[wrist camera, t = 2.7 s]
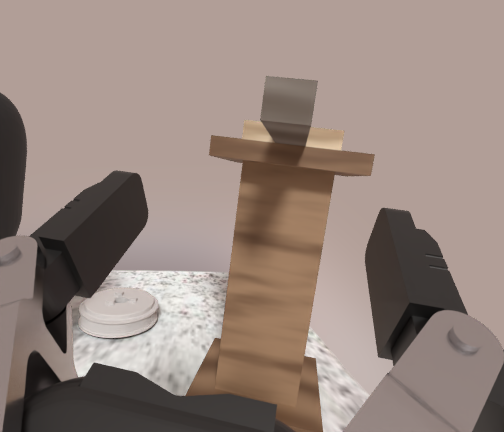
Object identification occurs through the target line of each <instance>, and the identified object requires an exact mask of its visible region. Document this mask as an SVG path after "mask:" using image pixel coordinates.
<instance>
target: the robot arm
mask: <svg viewBox="0 0 504 432" xmlns="http://www.w3.org/2000/svg"><path fill="white" fill-rule="evenodd" d="M26 156H27V141H26V133H25V128H24V124H23V121H22V118H21V116H20V114H19V112H18V110H17V108H16V107H15V106H14V104H13V103H12V102H11V101H10V100H9V99H8V98H7V97H6V96H4V95H3V94H1V93H0V432H295V431H294V430H293V429H291V428H290V427H289V426H287V425H286V424H285V423H283V422H281V421H279V420H278V419H276V410H277V404H272V403H268V402H264V401H259V400H255V399H251V398H246V397H242V396H238V395H233V394H213V395H196V396H176V395H173V394H171V393H170V392H168V391H167V390H165V389H163V388H162V387H160V386H158V385H157V384H155V383H153V382H152V381H150V380H148V379H147V378H145V377H143V376H142V375H140V374H138V373H137V372H133V371H129V370H124V369H120V368H115V367H111V366H107V365H102V364H98V363H93V365H92V366H91V368H90V370H89V371H88V373H87V375H86V376H84V377H78V375H77V372H76V370H75V366H74V360H73V331H72V307H71V305H70V303H69V302H70V300H71V299H72V298H73V297H74V295H76V296H81V297H86V298H91V297H92V296H93V295H94V293H95V292H96V291H97V289H98V288H99V287H100V285H101V284H102V283H103V281H104V280H105V279H106V277H107V276H108V275H109V273H110V272H111V271H112V269H113V268H114V267H115V265H116V264H117V263H118V261H119V260H120V259H121V257H122V256H123V255H124V253H125V252H126V251H127V249H128V248H129V247H130V245H131V244H132V243H133V241H134V240H135V239H136V237H137V236H138V235H139V233H140V232H141V231H142V230H143V228H144V227H145V225H146V222H147V219H148V208H147V203H146V198H145V194H144V189H143V184H142V181H141V177H140V175H139V174H137V173H131V172H123V171H113V172H112V173H111V174H109V175H108V176H107V177H106V178H105V179H104V180H103V181H101V182H100V183H97V184H95V185H93V186H91V187H89V188H87V189H85V190H83V191H82V192H81V193H80V194H79V195H77V196H76V197H75V198H74V200H73V201H71V202H69V203H68V204H67V205H66V206H65V208H64V209H61V210H60V211H59V212H58V213H56V214H55V215H54V216H53V217H51V218H50V219H49V220H48V221H47V222H46V223H44V224H43V225H42V226H41V227H40V228H38V229H37V230H36V231H35V232H34V233H33V234H31V235H30V236H16V234H17V231H18V228H19V225H20V222H21V216H22V204H23V191H24V180H25V169H26ZM365 264H366V272H367V280H368V287H369V294H370V301H371V308H372V316H373V323H374V330H375V338H376V345H377V352H378V357H380V358H385V359H390V360H393V366H394V367H393V368H392V370H391V371H390V372H389V373H387V375H386V376H385V377H384V378H383V380H382V381H381V382H380V383H379V385H378V386H377V387H376V389H375V390H374V392H373V393H372V394H371V395H370V397H369V398H368V399H367V401H366V402H365V403H364V404H363V406H362V407H361V408H360V410H359V411H358V412H357V414H356V415H355V416H354V418H353V419H352V420H351V422H350V423H349V424H348V426H347V427H346V428H345V430H344V431H343V432H504V350H503V348H502V346H501V344H500V342H499V340H498V339H497V338H496V336H495V335H494V334H493V333H492V332H491V331H490V330H489V329H488V328H487V327H486V326H485V325H484V324H482V323H481V322H479V321H478V320H476V319H475V318H472V317H471V316H469V315H468V314H467V311H466V309H465V307H464V304H463V302H462V300H461V297H460V295H459V293H458V290H457V288H456V286H455V283H454V281H453V279H452V276H451V274H450V272H449V271H448V270H447V269H448V267H447V265H446V262H445V260H444V259H443V255H442V253H441V251H440V248H439V246H438V243H437V242H436V241H435V240H434V239H433V238H432V237H431V236H430V235H429V234H428V233H427V232H426V231H425V230H421V229H416V227H415V225H414V222H413V220H412V217H411V214H410V212H409V211H404V210H396V209H388V208H382V209H381V210H380V212H379V214H378V217H377V220H376V222H375V225H374V228H373V231H372V233H371V236H370V239H369V241H368V244H367V248H366V254H365Z"/></svg>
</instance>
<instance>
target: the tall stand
mask: <svg viewBox="0 0 504 432" xmlns="http://www.w3.org/2000/svg"><path fill="white" fill-rule="evenodd" d="M209 155H210V156H214V157H218V158H222V159H226V160H230V161H234V162H239V163H243V166H242V173H241V181H240V189H239V198H238V206H237V214H236V222H235V230H234V238H233V246H232V254H231V262H230V271H229V278H228V287H227V295H226V303H225V311H224V319H223V327H222V335H221V339H219V338H215V339H214V341H213V343H212V345H211V347H210V349H209V351H208V353H207V355H206V357H205V359H204V360H203V362H202V364H201V366H200V368H199V370H198V372H197V374H196V376H195V378H194V380H193V382H192V384H191V386H190V388H189V390H188V392H187V394H186V395H185V396H196V395H213V394H233V395H238V396H242V397H246V398H251V399H255V400H259V401H264V402H268V403H272V404H277V410H276V419H278V420H279V421H281V422H283V423H285V424H286V425H287V426H289V427H290V428H291V429H293V430H294V431H295V432H323V427H322V417H321V407H320V397H319V387H318V377H317V367H316V358H311V357H306V356H304V354H305V348H306V342H307V336H308V330H309V324H310V318H311V312H312V306H313V300H314V294H315V289H316V283H317V276H318V271H319V265H320V259H321V252H322V247H323V241H324V235H325V229H326V223H327V216H328V211H329V205H330V199H331V193H332V187H333V180H334V175H341V176H370V175H371V172H372V166H373V161H374V154H366V153H358V152H349V151H341V150H332V149H324V148H315V147H307V146H298V145H290V144H281V143H273V142H264V141H256V140H247V139H238V138H230V137H221V136H213V135H212V136H211V143H210V152H209Z"/></svg>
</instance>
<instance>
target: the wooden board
mask: <svg viewBox="0 0 504 432" xmlns="http://www.w3.org/2000/svg"><path fill="white" fill-rule="evenodd" d="M317 82H318V81H315V80H304V79H293V78H282V77H281V78H280V77H269V76H266V81H265V88H264V95H263V104H262V112H261V119H260V120H261V122H257V121H249V120H245V121H244V128H243V137H242V139H247V140H256V141H264V142H273V143H281V144H290V145H298V146H307V147H315V148H324V149H332V150H341V148H342V142H343V136H344V131H341V130H331V129H321V128H313V127H311V122H312V115H313V109H314V102H315V96H316V89H317Z"/></svg>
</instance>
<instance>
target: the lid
mask: <svg viewBox="0 0 504 432" xmlns="http://www.w3.org/2000/svg"><path fill="white" fill-rule="evenodd" d="M157 308H158V301H157V299H156V298H155V297H154V296H152V295H151V294H150V293H148V292H146V291H143V290H140V289H135V288H112V289H106V290H102V291H99V292H96V293H94V295H93V296H92V297H91V298H86V299H85V300H84V301H82V302H81V304H80V306H79V313H80V317H79V320H78V325H79V327H80V329H81V330H82V331H83V332H85V333H87V334H89V335H92V336H96V337H102V338H121V337H127V336H132V335H135V334H139V333H141V332H143V331H146V330H147V329H149V328H150V327H152V326H153V325H154V324H155V322H156V320H157V313H156V310H157Z"/></svg>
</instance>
